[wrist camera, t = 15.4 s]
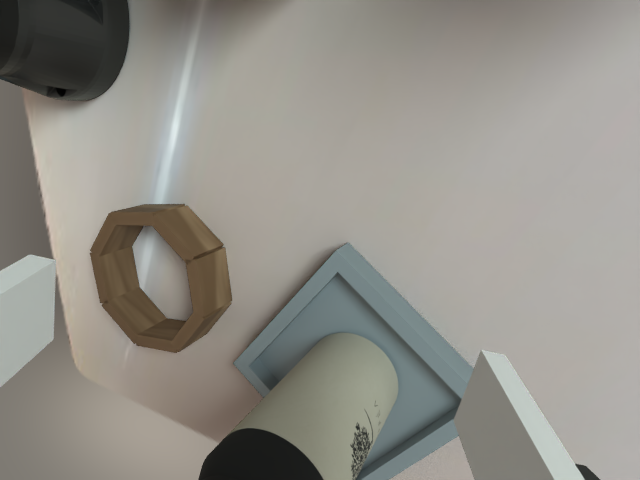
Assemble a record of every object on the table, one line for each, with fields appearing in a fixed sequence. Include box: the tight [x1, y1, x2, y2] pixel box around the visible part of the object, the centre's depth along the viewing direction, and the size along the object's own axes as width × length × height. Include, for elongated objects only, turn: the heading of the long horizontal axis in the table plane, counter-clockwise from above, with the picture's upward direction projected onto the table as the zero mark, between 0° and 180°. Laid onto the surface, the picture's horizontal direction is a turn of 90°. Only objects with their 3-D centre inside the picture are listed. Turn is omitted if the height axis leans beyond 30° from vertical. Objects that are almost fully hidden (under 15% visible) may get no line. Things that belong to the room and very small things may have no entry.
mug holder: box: [90, 204, 232, 353], centre depth 43 cm, size 13×13×4 cm
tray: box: [233, 243, 474, 480], centre depth 37 cm, size 16×16×2 cm
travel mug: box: [199, 333, 398, 480], centre depth 30 cm, size 8×8×18 cm
